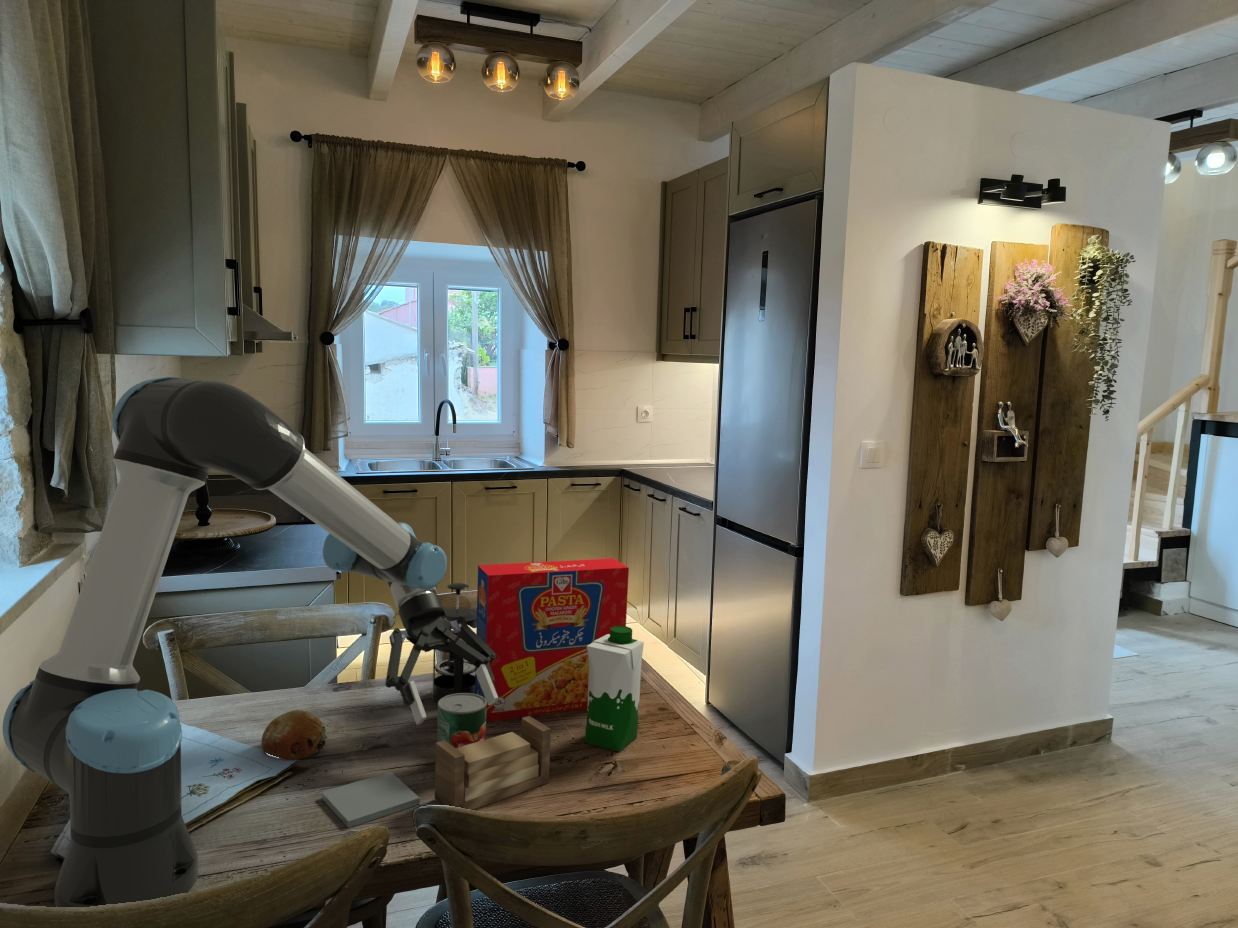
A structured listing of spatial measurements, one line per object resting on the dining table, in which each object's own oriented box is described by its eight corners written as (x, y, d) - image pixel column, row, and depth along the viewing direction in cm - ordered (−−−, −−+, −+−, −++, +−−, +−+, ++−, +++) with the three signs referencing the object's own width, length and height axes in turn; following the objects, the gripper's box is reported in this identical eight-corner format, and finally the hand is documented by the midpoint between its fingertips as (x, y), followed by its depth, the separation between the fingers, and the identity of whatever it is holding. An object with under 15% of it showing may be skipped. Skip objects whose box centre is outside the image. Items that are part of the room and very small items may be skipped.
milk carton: (643, 736, 150) (649, 630, 147) (620, 755, 142) (626, 643, 139) (601, 725, 154) (606, 621, 151) (577, 743, 146) (581, 634, 143)
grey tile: (348, 827, 116) (348, 821, 116) (321, 798, 124) (321, 791, 124) (419, 803, 123) (419, 797, 123) (390, 777, 131) (390, 771, 131)
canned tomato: (453, 750, 141) (455, 689, 140) (493, 760, 138) (495, 697, 137) (426, 770, 133) (428, 706, 132) (468, 781, 131) (470, 715, 129)
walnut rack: (454, 816, 120) (455, 757, 119) (434, 798, 125) (435, 742, 124) (548, 782, 131) (550, 728, 130) (527, 767, 136) (529, 715, 135)
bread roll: (307, 751, 146) (295, 707, 147) (343, 742, 141) (330, 696, 142) (258, 773, 137) (245, 727, 138) (294, 764, 132) (281, 715, 133)
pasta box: (484, 721, 153) (488, 575, 150) (474, 705, 160) (478, 565, 157) (622, 704, 164) (628, 567, 161) (607, 689, 171) (613, 558, 168)
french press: (482, 705, 160) (486, 590, 157) (433, 709, 157) (436, 592, 154) (475, 683, 171) (477, 575, 168) (428, 686, 168) (431, 576, 166)
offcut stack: (464, 801, 122) (465, 764, 121) (447, 786, 126) (447, 750, 125) (538, 776, 130) (539, 741, 130) (519, 762, 134) (520, 729, 134)
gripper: (470, 601, 158) (511, 703, 148) (344, 624, 141) (381, 739, 132) (486, 581, 153) (529, 684, 144) (357, 601, 137) (396, 719, 127)
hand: (458, 711), depth 138 cm, fingers open, 13 cm apart
